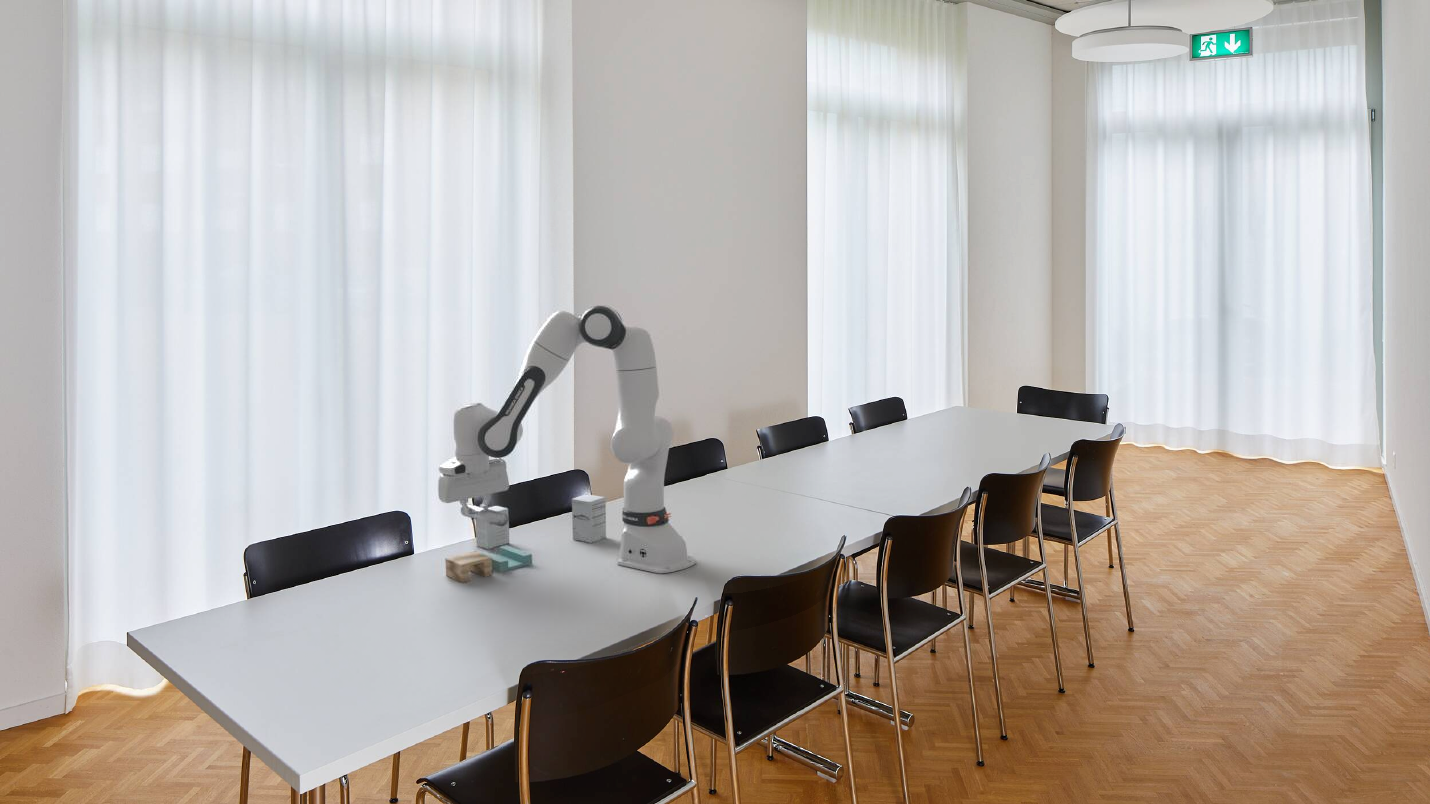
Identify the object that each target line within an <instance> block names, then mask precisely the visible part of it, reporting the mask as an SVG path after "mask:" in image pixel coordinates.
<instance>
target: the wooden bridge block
mask: <svg viewBox="0 0 1430 804" xmlns="http://www.w3.org/2000/svg"><path fill="white" fill-rule="evenodd" d="M479 552H480V551H470V552H466V553H463V554H457V555H454V556H450V557H446V558H445V576H446V575H448V576H449V577H448V576H447V577H448V578H450V577H452V578H451V579H453V578H454V579H453V580H455V579H456V580H455V581H457V580H458V582H460V583H462V582H463V583H466V582H465V581H467V582H470V581H469V580H470V579H471V578H470V576H471V574H470V570H471V572H473V571H474V572H473V573H475V572H477V573H478V575H480V574H481V575H480V576H482V575H483V577H488V575H489V576H491V575H493V569H492V557H489V556H487V555H484V554H481V553H479ZM477 573H476V574H477Z"/></svg>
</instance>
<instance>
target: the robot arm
mask: <svg viewBox="0 0 1430 804" xmlns="http://www.w3.org/2000/svg"><path fill="white" fill-rule="evenodd" d="M584 343H588V344H589V345H591V346H594V347H599V348H603V349H607V350H611V351H612V353H613V356H614V361H615V363H614V364H615V375H616V385H617V386H616V387H617V397H618V398H617V411H616V420H615V427H614V432H613V434H612V436H611V439H610V442H609V445H610V450H611V453H612V454H613V456H614V457H615V459H616V460H618V461H619V462H621V463H624V464H628V467H627V471H626V473H625V476H624V479H623V508H622V512H621V517H622V522H623V528H622V532H621V537H620V549H619V556H618V559H617V563H616V564H617V565H618V566H622V567H627V568H631V569H638V570H642V571H646V572H650V573H656V574H666V573H673V572H677V571H682V570H684V569H688V568H690V567H692V566H693V565H695V564H696V563H697V560H696V558H695V557H692V556H691V555H688V551H687V550H688V549H687V544H686V540H685V539H684V538H683V536H682V535H680V534H679V532H678V531H677V530H676V529H675V528H674V527H673V526H672V525H671V524H670V523H671V522H669V520H670V519H669V518H672V516H671V514H672V513H671V512H669V513H667V508H666V506H665V474H666V468H667V462H668V456H669V450H670V446H671V443H672V442H673V438H674V429H673V426H672V424H671V423H670V422H669V420H668V419H666V418H665V417H662V416H659V415H655V414H656V413H655V412H656V408H657V407H656V406H657V403H658V400H659V395H660V390H659V379H658V368H657V359H656V353H655V349H654V345H653V341H652V338H651V335H650V333H649V331H647V329H646V330H645V329H644V328H641V327H637V326H636V327H635V326H634V327H633V326H632V327H630V326H629V327H628V326H626V325H625V324H624V322H623V319H622V317H621V315H620V313H619V312H618V311H617V310H616V309H614V308H612V307H611V306H610V305H605V304H597V305H593V306H591V307H589V308H587V309H586V310H585V311H584V312H583V313H582V314H581V315H579V316H578V315H574V314H572V313H571V312H568V311H566V310H564V311H563V310H557V311H555V312H553V313H552V314H551V315H550V316H549V317H548V318H547V320H546V321H545V322H544V323H543V325H542V326H541V327H540V329H539V330H538V331H537V333H536V335H535V337H534V338H533V339H532V341H531V343H530V345H529V347H528V349H527V351H526V354H525V357H524V359H523V362H522V365H521V367H520V371H519V373H518V374H519V375H518V377H517V379H516V382H515V384H514V386H513V388H512V390H511V391H510V393H509V395H508V396H507V398H506V399H505V401H504V403H503V404H502V407H500V410H499V411H497V410H494V409H491V408H489V407H488V406H486V405H485V404H483V403H482V402H472V403H469V404H465V405H462V406H459V407H458V408H457V409H456V410H455V412H454V415H453V439H454V441H455V445H456V446H455V450H454V451H455V452H454V453H455V454H454V455H455V457H453V458H451V459H449V460H448V461H446V462H445V463H442V464H441V465H440V466H439V467H438V471H439V473H440V476H439V478H438V483H437V484H438V486H437V487H438V488H437V489H438V491H437V492H438V500H440V501H441V502H442V503H444V504H451V503H455V502H459V504H460V506H461V507H462V506H463V508H464V513H465V515H470V514H472V513H473V512H472V508H470V507H469V506H468V505H467V504H469V499H473V498H478V497H482V498H484V499H483V501H482V503H481V504H479V507H482V508H486V509H488V508H489V504H490V501H491V499H492V494H497V493H501V492H506V491H508V490H509V488H510V482H509V476H508V471H507V462H506V461H505V459H503V458H505V457H508V456H509V455H510V454H511V453H512V452H513V451H514V450H515V447H516V446H517V444H518V443H519V442H520V440H521V438H522V437H523V432H524V431H523V430H524V428H523V424H522V421H523V420H524V418H525V416H526V415H527V414H528V412H529V409H530V408H531V406H532V405H533V403H534V402H535V400H536V399H537V397H538V396H539V395H540V394H541V393H542V392H543V391H544V390H545V389H546V388H548V386H549V385H551V384H552V383H553V382H554V381H555V380H556V379H557V378H558V377H559V376H560V374H561V373H562V372H563V371H564V370H565V368H566V366H567V365H568V363H569V362H570V361H571V358H572V356H573V355H574V354H575V352H576V351H577V350H576V349H578V347H580V345H581V344H584ZM490 457H491V458H492V459H490Z"/></svg>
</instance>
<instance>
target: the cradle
mask: <svg viewBox="0 0 1430 804" xmlns="http://www.w3.org/2000/svg"><path fill="white" fill-rule="evenodd" d="M498 548H499V551H498V552H499V554H493V553H490V552H487V551H485V550H483V551H478V552H479V553H481V554H484V555H487V556H489V557H492V571H493V570H494V571H497V572H498V571H499V573H503V571H504V572H508V571H512V570H516V569H518V568H522V567H525V566H530V565H533V554H532V553H529V552H527V551H523V550H522V549H519V548H517V547H516V548H515V547H513V546H510V545H507V544H505V545H503V546H502V545H501V546H498ZM529 564H530V565H529Z"/></svg>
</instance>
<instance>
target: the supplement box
mask: <svg viewBox="0 0 1430 804" xmlns="http://www.w3.org/2000/svg"><path fill="white" fill-rule="evenodd" d="M606 499H607V498H606V497H605V496H599V495H595V494H594V495H593V494H588V493H587V494H583V495H580V496H576V497H574V498H571V509H572V510H571V511H572V512H571V513H572V515H571V518H572V521H571V522H572V523H571V524H572V526H571V527H572V540H573V539H574V540H575V541H579V540H580V542H584V541H585V542H586V543H589V544H593V543H596V542H598V541H597V540H599V541H600V539H601V540H603V539H602V538H604V539H606V538H607V515H606V514H607V509H606V504H607V503H606V502H607V501H606ZM605 537H606V538H605ZM574 540H573V541H574ZM581 540H582V541H581ZM595 541H596V542H595ZM592 542H593V543H592Z"/></svg>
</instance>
